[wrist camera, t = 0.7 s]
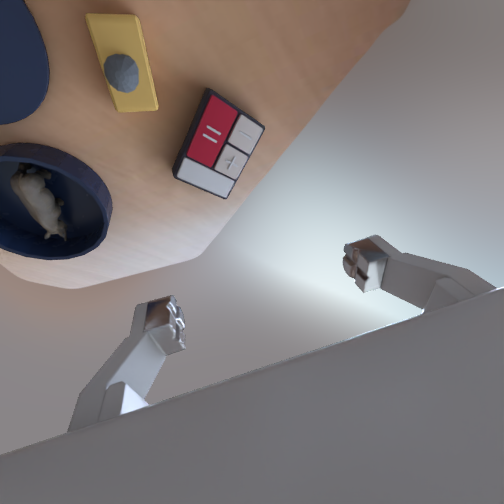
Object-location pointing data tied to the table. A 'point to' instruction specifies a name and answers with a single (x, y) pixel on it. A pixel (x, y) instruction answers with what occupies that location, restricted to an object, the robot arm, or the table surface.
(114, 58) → the rubber stamp
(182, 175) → the calculator
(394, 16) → the table surface
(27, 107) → the pan lid
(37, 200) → the rhino figurine
